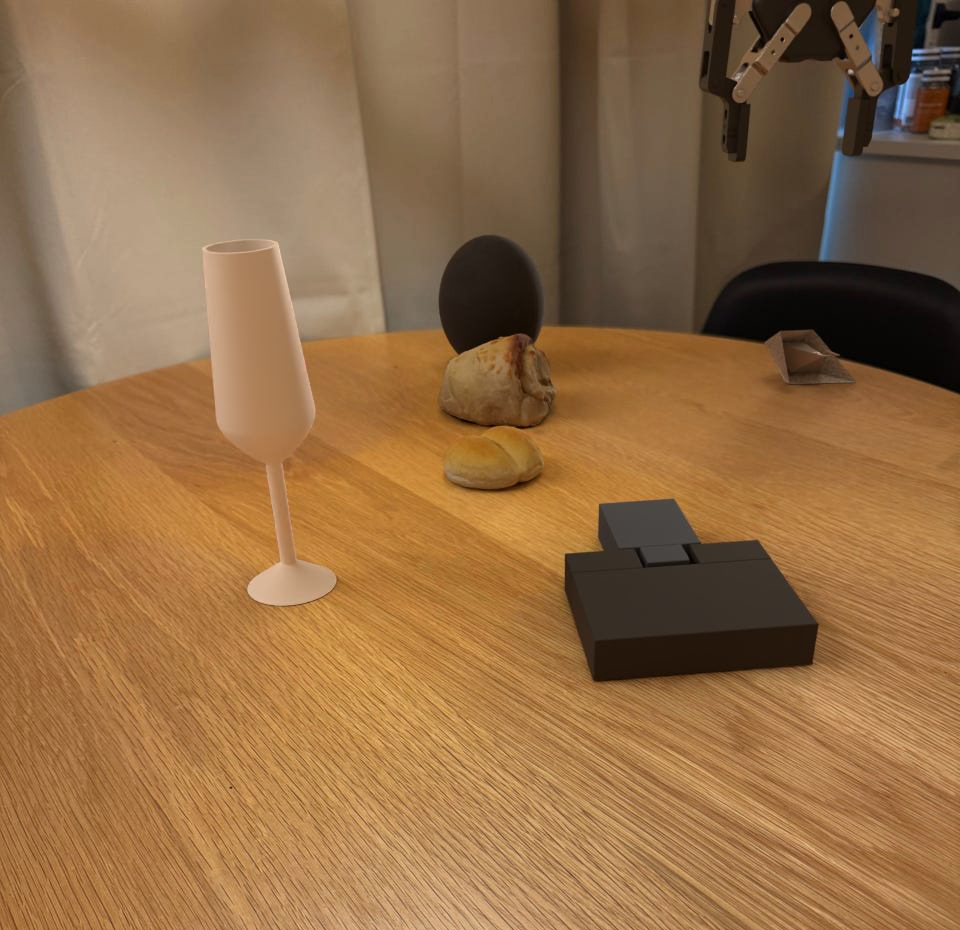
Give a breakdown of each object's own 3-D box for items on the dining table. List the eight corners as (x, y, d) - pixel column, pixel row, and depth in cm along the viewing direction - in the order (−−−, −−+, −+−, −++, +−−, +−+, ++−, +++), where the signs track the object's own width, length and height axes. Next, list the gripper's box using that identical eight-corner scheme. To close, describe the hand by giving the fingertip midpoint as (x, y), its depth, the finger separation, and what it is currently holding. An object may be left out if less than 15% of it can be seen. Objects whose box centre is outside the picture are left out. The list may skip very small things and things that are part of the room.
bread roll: (428, 472, 93) (425, 430, 91) (510, 451, 97) (509, 410, 95) (473, 501, 87) (471, 457, 85) (559, 477, 91) (558, 435, 89)
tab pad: (672, 532, 80) (674, 497, 79) (707, 595, 71) (711, 558, 70) (597, 537, 80) (598, 503, 79) (624, 601, 71) (626, 564, 70)
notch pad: (753, 576, 74) (758, 539, 72) (812, 664, 63) (819, 623, 62) (564, 590, 73) (564, 553, 71) (593, 681, 63) (594, 640, 61)
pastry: (573, 423, 103) (574, 344, 99) (455, 437, 101) (451, 357, 97) (534, 383, 115) (533, 312, 111) (427, 396, 113) (422, 323, 108)
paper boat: (830, 354, 116) (889, 351, 108) (808, 406, 117) (865, 407, 108) (754, 306, 111) (811, 299, 103) (732, 361, 111) (786, 359, 103)
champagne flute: (355, 582, 75) (315, 243, 63) (280, 615, 71) (222, 261, 59) (302, 555, 80) (255, 232, 67) (229, 585, 76) (165, 249, 63)
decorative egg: (452, 388, 115) (444, 249, 107) (434, 359, 125) (426, 230, 117) (557, 377, 116) (557, 240, 109) (531, 349, 127) (529, 222, 119)
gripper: (733, -123, 61) (712, 169, 70) (961, -132, 62) (912, 159, 70) (700, -109, 67) (684, 157, 76) (907, -117, 68) (868, 148, 77)
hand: (794, 158), depth 73 cm, fingers open, 8 cm apart
